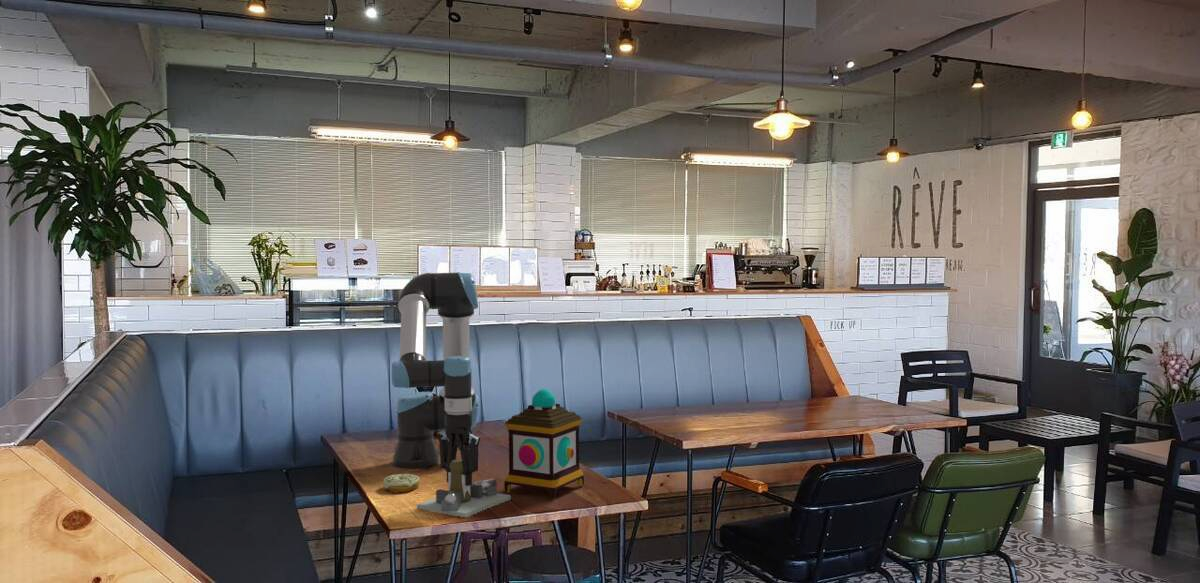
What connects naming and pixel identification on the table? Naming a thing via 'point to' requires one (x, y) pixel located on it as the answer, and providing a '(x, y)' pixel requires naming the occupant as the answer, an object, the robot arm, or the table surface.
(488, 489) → the shaft
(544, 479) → the decorative lantern
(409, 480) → the decorated donut
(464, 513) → the rig
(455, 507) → the shaft
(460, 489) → the cork
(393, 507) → the table surface
